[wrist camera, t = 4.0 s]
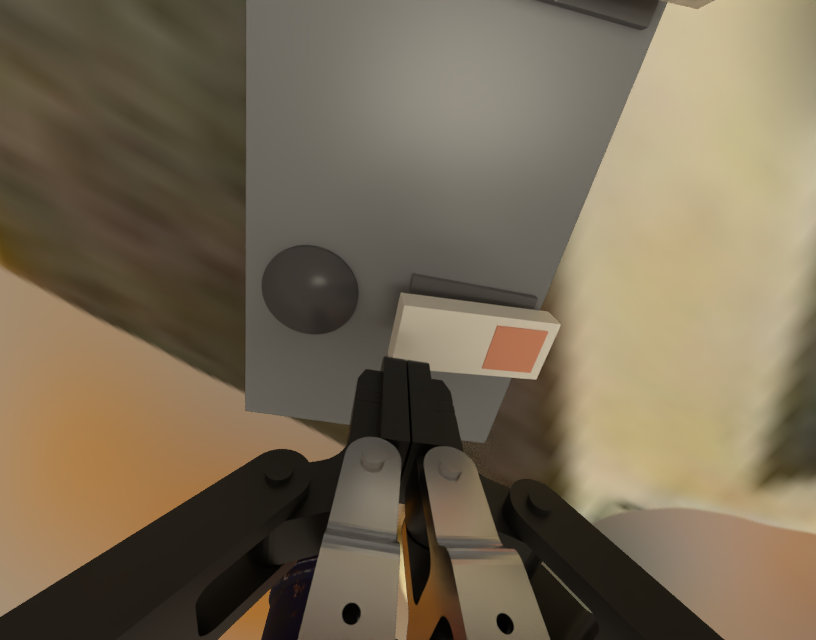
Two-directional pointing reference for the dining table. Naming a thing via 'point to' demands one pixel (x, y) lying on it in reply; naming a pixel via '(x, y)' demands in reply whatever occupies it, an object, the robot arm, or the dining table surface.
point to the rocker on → (472, 336)
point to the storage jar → (289, 601)
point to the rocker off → (690, 3)
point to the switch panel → (415, 174)
